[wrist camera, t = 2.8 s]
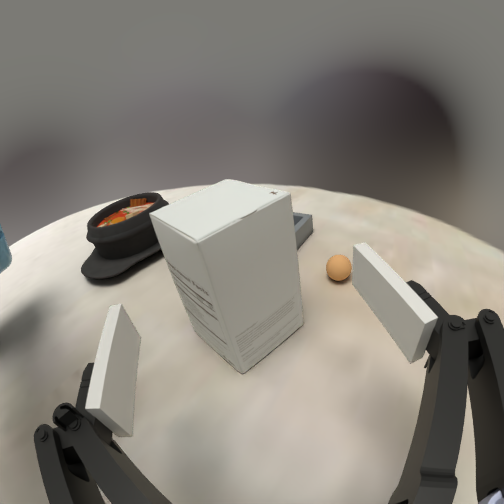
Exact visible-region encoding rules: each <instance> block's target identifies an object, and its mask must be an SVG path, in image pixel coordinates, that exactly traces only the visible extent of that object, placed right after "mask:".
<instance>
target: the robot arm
mask: <svg viewBox="0 0 504 504" xmlns="http://www.w3.org/2000/svg"><path fill="white" fill-rule="evenodd" d="M11 261H12V255H11V252H10V249H9V247H8V244H7V242H6V239H5V236H4V233H3V230H2V227H1V224H0V273H1V272H3V271H4V270H5V269H6V268H7V267H9V265H10V264H11ZM352 285H353V286H354V287H355V289H356V290H357V291H358V292H359V294H360V295H361V296H362V298H363V299H364V300H365V302H366V303H367V304H368V306H369V307H370V308H371V310H372V311H373V312H374V314H375V315H376V316H377V318H378V319H379V320H380V322H381V323H382V325H383V326H384V327H385V329H386V330H387V331H388V333H389V334H390V336H391V337H392V338H393V340H394V341H395V343H396V344H397V345H398V347H399V348H400V350H401V351H402V353H403V354H404V355H405V357H406V358H407V360H408V361H409V363H410V364H411V363H413V362H415V361H417V360H419V359H421V358H423V355H424V353H425V350H427V352H428V353H429V354H430V355H429V357H428V359H427V362H426V364H425V366H424V368H426V367H427V371H426V377H425V384H424V390H423V395H422V401H421V406H420V410H419V415H418V420H417V424H416V428H415V432H414V436H413V440H412V443H411V447H410V450H409V454H408V457H407V460H406V464H405V467H404V470H403V473H402V476H401V478H400V481H399V484H398V486H397V488H396V490H395V491H394V493H393V494H392V496H391V498H390V500H389V503H388V504H452V502H453V499H454V496H455V492H456V489H457V483H458V482H457V478H456V476H455V468H456V464H457V459H458V455H459V450H460V444H461V438H462V432H463V425H464V418H465V409H466V398H467V384H468V389H469V395H470V402H471V409H472V417H473V426H474V437H475V453H476V492H477V500H478V504H504V328H503V325H502V323H501V321H500V318H499V316H498V315H497V314H496V313H495V312H494V311H492V310H490V309H483V310H481V311H480V312H479V314H478V316H477V318H474V319H468V320H464V319H463V318H461V317H460V316H457V315H449V314H448V313H447V312H446V311H445V310H444V309H443V308H442V306H441V305H440V304H439V303H438V302H437V301H436V300H435V299H434V298H433V297H431V295H430V294H429V293H428V292H427V291H426V290H425V289H424V288H423V287H422V286H421V285H420V284H418V283H416V282H414V281H412V280H411V281H409V282H405V281H404V280H403V279H402V278H401V277H400V276H399V275H398V274H397V273H396V272H395V271H394V270H393V269H392V268H391V267H390V266H389V265H388V264H387V263H386V262H385V261H384V260H383V259H382V258H381V257H380V256H379V255H378V254H377V253H376V252H375V251H374V250H373V249H372V248H370V247H369V246H368V245H367V244H366V243H365V242H364V243H360V244H356V245H353V274H352ZM140 343H141V337H140V335H139V333H138V332H137V330H136V328H135V326H134V325H133V323H132V321H131V320H130V318H129V316H128V314H127V313H126V311H125V309H124V307H123V305H122V304H117V305H113V306H110V307H109V311H108V314H107V317H106V321H105V324H104V328H103V331H102V335H101V339H100V343H99V346H98V350H97V354H96V359H95V363H88V365H87V367H86V368H85V370H84V371H83V375H82V382H81V384H80V389H79V393H78V398H77V403H76V408H75V407H74V406H72V405H71V404H70V403H62V404H60V405H59V406H58V407H57V408H56V409H55V411H54V413H53V423H54V424H56V425H57V426H58V427H57V428H54V429H53V428H51V427H50V426H49V425H47V424H43V425H40V426H39V427H38V428H37V429H36V431H35V434H34V442H35V448H36V453H37V458H38V462H39V467H40V471H41V475H42V479H43V483H44V486H45V490H46V493H47V496H48V500H49V503H50V504H105V502H104V500H103V498H102V496H101V494H100V491H99V489H98V487H97V485H98V486H99V487H100V489H101V490H102V491H103V493H104V494H105V496H106V497H107V498H108V499H109V501H110V502H111V503H112V504H172V503H171V502H170V501H169V500H168V499H167V498H166V497H165V496H164V495H162V494H161V493H160V492H159V491H158V490H157V489H156V488H155V486H154V485H153V484H152V483H151V482H150V481H149V480H148V479H147V478H146V477H145V476H144V475H143V474H142V473H141V472H140V470H139V469H138V468H137V467H136V466H135V465H134V464H133V462H132V461H131V460H130V459H129V458H128V457H127V455H126V454H125V453H124V452H123V450H122V449H121V448H120V447H119V445H118V444H117V443H116V442H115V441H114V440H113V439H112V432H113V433H114V434H116V435H117V436H118V437H133V417H134V401H135V389H136V378H137V368H138V359H139V350H140ZM96 483H97V484H96Z"/></svg>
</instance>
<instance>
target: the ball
mask: <svg viewBox="0 0 504 504" xmlns="http://www.w3.org/2000/svg"><path fill="white" fill-rule="evenodd" d="M351 269H352V268H351V263H350V261H349V259H348V258H347V257H345V256H343V255H335V256H333V257H331V258H330V259H329V260H328V262H327V265H326V271H327V273H328V275H329V277H330V278H332V279H333V280H337V281H341V280H344V279H346V278H347V277H348V276H349V275H350V273H351Z"/></svg>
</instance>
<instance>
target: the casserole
mask: <svg viewBox="0 0 504 504" xmlns="http://www.w3.org/2000/svg"><path fill="white" fill-rule="evenodd" d="M167 205H169V203H168V202H167V201H165V200H164V199H163V198H162V197H161V195H160V194H158V193H142V194H137V195H133V196H130V197H127V198H124V199H121V200H119V201H117V202H114V203H112V204H110V205H109V206H107V207H105V208H103V209H102V210H100V211H99V212H98V213H96V214H95V215H94V216H93V217H92V218H91V219H90V220H89V222H88V224H87V228H88V233H87V237H86V238H87V240H88V241H89V242H91V243H93V244H94V246H95V249H94V250H93V252H92V254H91V255H90V256H89V257H88V259H87V260H86V261H85V262H84V264H83V265H82V267H81V272H82V274H83V275H84V276H86V277H88V278H93V279H104V278H109V277H114V276H116V275H118V274H121V273H122V272H124V271H126V270H127V269H129V268H130V267H131V266H133V265H134V264H135V263H137V262H139V261H141V260H143V259H145V258H147V257H149V256H150V255H152V254H154V253H156V252H157V251H159V250H160V249H161V246H160V244H159V241H158V238H157V235H156V232H155V230H154V227H153V224H152V221H151V218H150V215H149V213H152V212H154V211H156V210H158V209H160V208H162V207H164V206H167Z"/></svg>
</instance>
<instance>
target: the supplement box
mask: <svg viewBox="0 0 504 504" xmlns="http://www.w3.org/2000/svg"><path fill="white" fill-rule="evenodd" d="M149 215H150V218H151V221H152V224H153V227H154V230H155V232H156V235H157V238H158V241H159V244H160V246H161V249H162V252H163V254H164V257H165V260H166V262H167V265H168V267H169V270H170V272H171V275H172V278H173V280H174V282H175V285H176V287H177V290H178V292H179V295H180V297H181V300H182V302H183V305H184V307H185V309H186V312H187V314H188V316H189V319H190V321H191V323H192V326H193V328H194V330H195V332H196V333H197V334H198V335H199V336H200V337H201V338H202V339H203V340H204V341H205V342H206V343H207V344H209V345H210V346H211V347H212V348H213V349H214V350H215V351H216V352H217V353H218V354H219V355H221V356H222V357H223V358H224V359H225V360H226V361H227V362H228V363H229V364H231V365H232V366H233V367H234V368H235V369H236V370H237V371H239V372H240V373H241V374H243V373H245V372H246V371H248V370H249V369H250V368H251V367H252V366H254V365H255V364H256V363H258V362H259V361H260V360H261V359H263V358H264V357H265V356H266V355H267V354H269V353H270V352H271V351H272V350H274V349H275V348H276V347H277V346H278V345H280V344H281V343H282V342H283V341H284V340H285V339H287V338H288V337H289V336H290V335H291V334H292V333H294V332H295V331H296V330H297V329H298V328H299V327H300V326H302V325H303V310H302V298H301V286H300V275H299V265H298V255H297V246H296V237H295V228H294V219H293V210H292V202H291V194H290V193H289V192H286V191H282V190H276V189H271V188H266V187H262V186H257V185H252V184H248V183H244V182H240V181H236V180H229V179H226V180H223V181H221V182H219V183H216V184H214V185H212V186H209V187H207V188H205V189H202V190H200V191H198V192H195V193H193V194H191V195H189V196H187V197H184V198H182V199H180V200H178V201H175V202H173V203H171V204H169V205H167V206H164V207H162V208H160V209H158V210H156V211H154V212H152V213H149Z"/></svg>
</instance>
